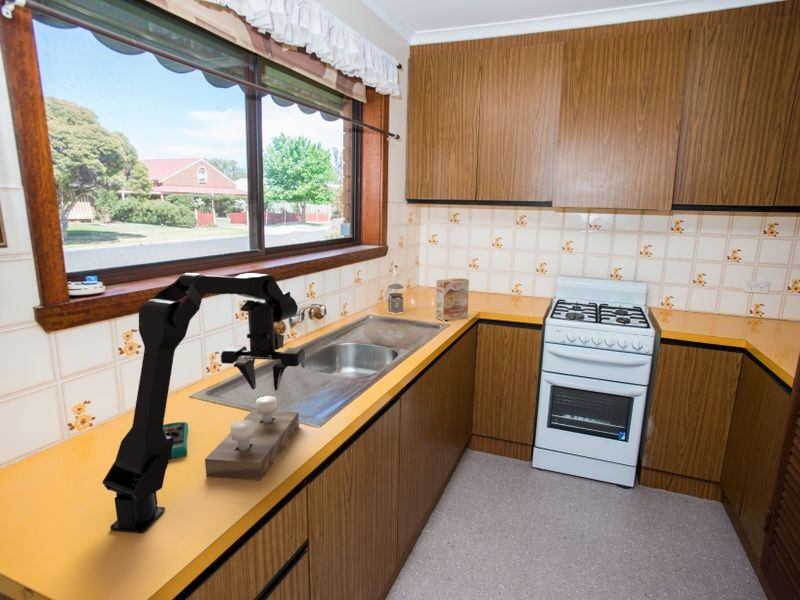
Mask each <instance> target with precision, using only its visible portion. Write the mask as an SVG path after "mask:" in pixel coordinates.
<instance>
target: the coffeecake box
mask: <svg viewBox="0 0 800 600" xmlns="http://www.w3.org/2000/svg"><path fill="white" fill-rule="evenodd" d="M469 285H470V280H469V279H465V278H462V277H458V278H449V279H448V278H447V279H437V280H436V295H435V299H436V301H435V319H436V318H437V319H436V320H438V319H440V320H444V322H446V321H445V320H451V321H456V319H459V320H465V319H468V317H469V316H468V315H469V313H468V312H469V311H468V310H469V290H470V288H469ZM440 320H439V321H440Z"/></svg>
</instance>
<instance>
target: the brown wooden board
mask: <svg viewBox="0 0 800 600" xmlns="http://www.w3.org/2000/svg"><path fill="white" fill-rule="evenodd" d="M299 414H300V413H299V411H288V410H287V411H286V410H276V411H275V412H273V413H272V421H273V422H272V423H271V424H269V423H262V414H259V413H257V411H256V409H252V410H251V411H250V412H249V413H248V414H247V415H246V416H245V417H244V419H243V420H251V421H253V422H254V429H255V435H254V437H252V438H251V439H249V442H250V449H249V450H248V451H238V441H235V440H233V439H232V438H231V432H230V433H228V435H227V436H225V438H224V439H223V440H221V442H220V443H219V444H218V445H217V446H216V447H215V448H214V449H213V450H212V451H211V452H210V453H208V455H207V456H206V457H205V458H204V465H205V466H204V467H205V475H206V477H210V478H224V479H237V480H238V479H239V480H251V481H253V480H254V481H262V480H263V479H264V477H265V476H266V475H267V473H268V472H269V470H270V469H271V468H272V466H273V465H274V463H275V462H274V461H276V460H277V459H278V457H279V456H280V455H281V453H282V452H283V450H284V448H286V446H287V445H288V444H289V442H290V440H291V439H292V437H294V435H295V434H296V432H297V431H298V429H299V427H300V418H299V417H300V416H299ZM279 454H280V455H279ZM272 464H273V465H272ZM265 474H266V475H265Z"/></svg>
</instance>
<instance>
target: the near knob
mask: <svg viewBox="0 0 800 600" xmlns="http://www.w3.org/2000/svg"><path fill="white" fill-rule="evenodd" d="M230 433H231V438H232V439H233V440H235V441H238V451H248V450H249V449H250V442H249V439H251V438H252V437H254V435H255V429H254V422H253V421H251V420H244V419H241V420H236V421H234V422H232V423H231V425H230Z"/></svg>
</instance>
